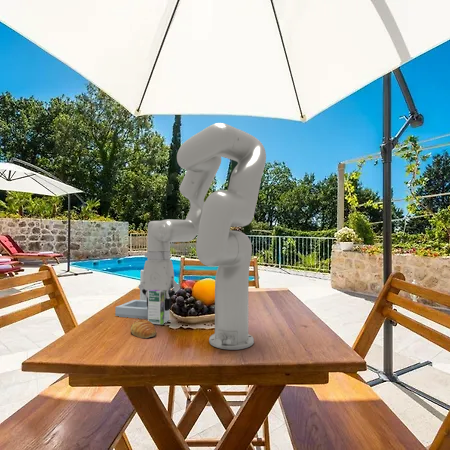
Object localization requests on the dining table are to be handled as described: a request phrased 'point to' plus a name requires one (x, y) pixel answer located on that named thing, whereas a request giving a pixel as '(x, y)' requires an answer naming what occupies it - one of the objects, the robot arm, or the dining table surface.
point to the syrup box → (157, 307)
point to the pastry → (143, 329)
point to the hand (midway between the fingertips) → (159, 308)
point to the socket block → (133, 309)
